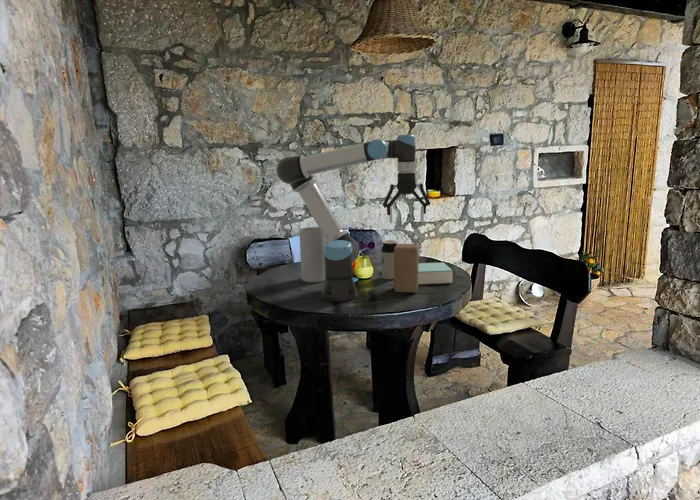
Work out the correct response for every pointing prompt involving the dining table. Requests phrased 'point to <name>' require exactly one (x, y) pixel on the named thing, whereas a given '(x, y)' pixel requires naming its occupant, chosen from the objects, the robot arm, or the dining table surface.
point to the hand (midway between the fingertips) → (406, 222)
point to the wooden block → (406, 268)
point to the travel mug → (388, 259)
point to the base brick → (434, 273)
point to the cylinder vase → (312, 254)
